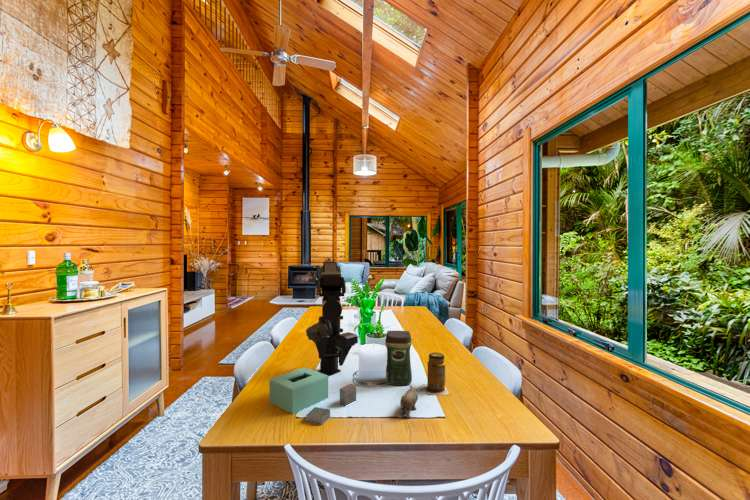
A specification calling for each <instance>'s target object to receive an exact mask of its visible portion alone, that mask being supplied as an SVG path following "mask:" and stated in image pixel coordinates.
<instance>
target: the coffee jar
mask: <svg viewBox="0 0 750 500" xmlns="http://www.w3.org/2000/svg"><path fill="white" fill-rule="evenodd" d="M384 343H385V346H386V364H387V365H386V367H385V382H386V383H387V384H389V385H392V386H393V385H397V386H404V385H405V386H407V385H409V384H410V385H411V383H412V382H413V381H412V380H413V375H412V365H411V347H412V343H413V342H412V336H411V332H410V330H387V331H386V333H385V342H384Z"/></svg>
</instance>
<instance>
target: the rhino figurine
mask: <svg viewBox="0 0 750 500" xmlns="http://www.w3.org/2000/svg"><path fill="white" fill-rule="evenodd" d="M420 388H421V387H417V388H415V387H413V385H410V386H409V389H408V390H407V391H406V392H405V393H404V394H403V395H402V396H401V397H400V406H401V411H400V415H402V416H405V418H406V419H411V415H410V413H411V410H414V411H416V410H417V407H416V403H417V401H418V399H419V397H418V393H417V392H418V391H419V390H420ZM405 409H406V412H405Z"/></svg>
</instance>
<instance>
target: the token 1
mask: <svg viewBox="0 0 750 500" xmlns="http://www.w3.org/2000/svg"><path fill="white" fill-rule="evenodd" d="M330 418H331V409H328V408H324V407H318V406H314V407H313V408H311V410H310V411H309V412H308V413H307V414H306V416H305V422H306V423H309V424H314V425H317V426H318V425H319V426H323V425H324V424H325V423H326V422H327V421H328V420H329V419H330Z"/></svg>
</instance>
